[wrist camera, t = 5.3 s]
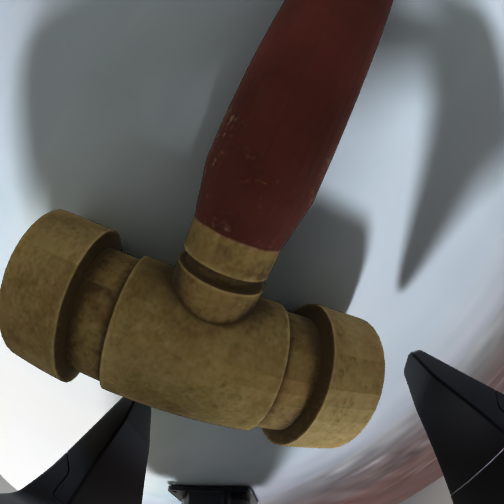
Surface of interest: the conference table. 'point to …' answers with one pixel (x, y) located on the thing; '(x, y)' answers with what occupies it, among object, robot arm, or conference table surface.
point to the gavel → (222, 262)
